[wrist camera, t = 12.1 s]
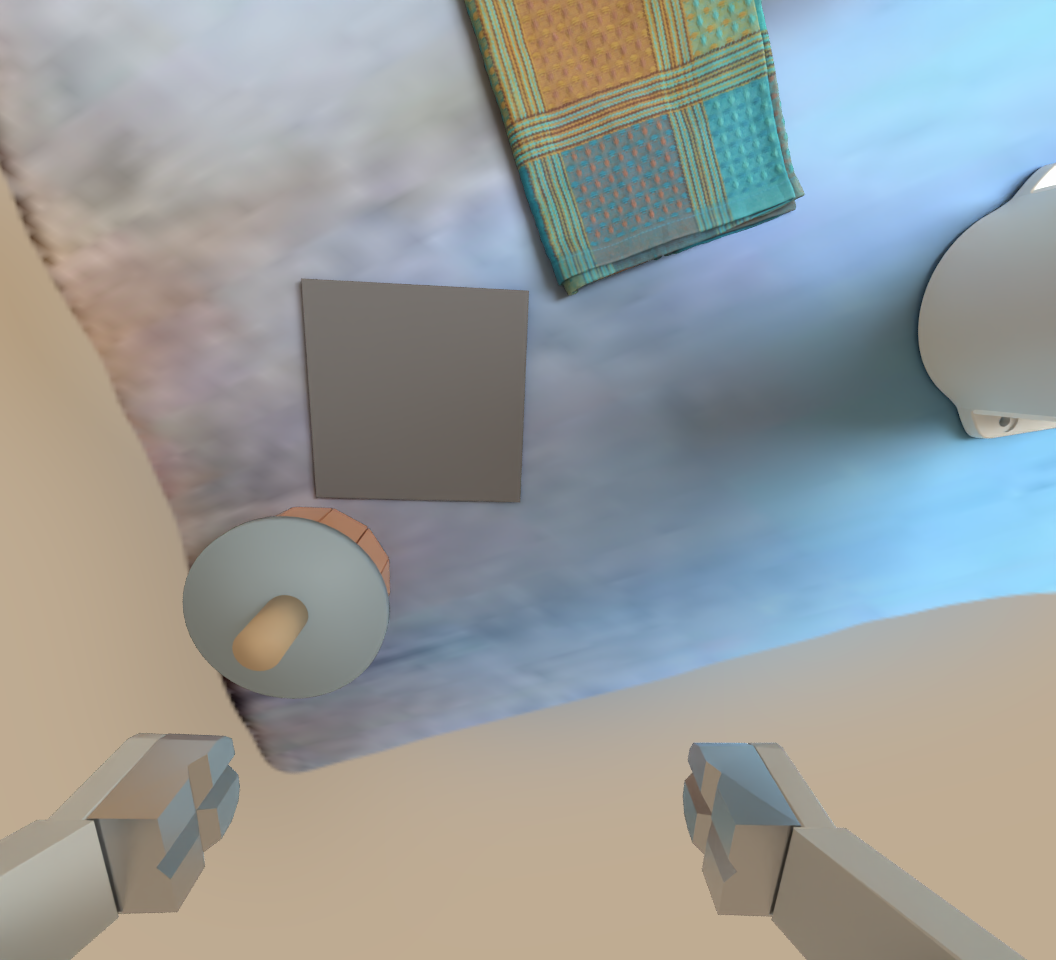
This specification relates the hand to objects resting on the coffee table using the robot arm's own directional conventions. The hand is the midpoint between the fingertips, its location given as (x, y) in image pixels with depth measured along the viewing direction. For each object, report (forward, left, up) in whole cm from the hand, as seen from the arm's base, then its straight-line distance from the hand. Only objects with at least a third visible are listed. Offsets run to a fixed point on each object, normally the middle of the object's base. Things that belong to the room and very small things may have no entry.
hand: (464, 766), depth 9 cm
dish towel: (-8, -25, -29) cm, 39 cm away
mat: (+5, -4, -29) cm, 29 cm away
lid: (+13, +10, -24) cm, 29 cm away
